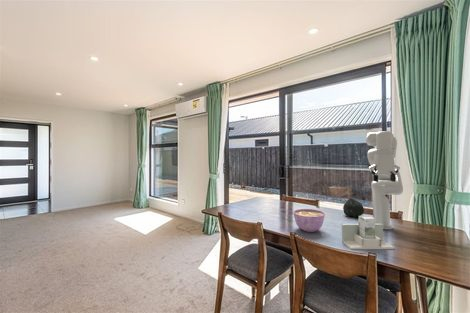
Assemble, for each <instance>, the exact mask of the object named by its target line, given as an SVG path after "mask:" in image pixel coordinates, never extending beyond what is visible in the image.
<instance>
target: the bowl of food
mask: <svg viewBox="0 0 470 313" xmlns="http://www.w3.org/2000/svg"><path fill="white" fill-rule="evenodd" d="M292 213H293V217H294V221H295V224H296V225H297V227H298V228H299V229H301V230H303V231H304V232H307V233H314V232H316V231H318V230H320V229H321V228H322V227H323V224H324V221H325V216H326V214H325V212H324V211H322V210H320V209H319V210H318V209H313V208H312V209H311V208H300V209H299V208H298V209H295V210H293V212H292Z"/></svg>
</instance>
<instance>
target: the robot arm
mask: <svg viewBox="0 0 470 313" xmlns="http://www.w3.org/2000/svg"><path fill="white" fill-rule="evenodd" d="M397 141H398V140H397V138H396V137H395V136H394V134H393V133H392V132H391V131H390V130H385V131H377V132H368V133H367V134H366V137H365V142H366V145H367V146H370V147H373V148H371V149H369V150H368V151H367V153H366V155H367V161H368V164H369V165H370V166H369V167H368V170H369V172H370V174H372V179H373V180H372V181H371V183H370V186H371V192H372V193H371V194H372V217H373V218H374V219H375V224H383V230H392V229H393V228H394V226H393V225H392V224H391V214H390V213H391V209H390V208H391V205H390V204H391V203H390V200H389V198H388V197H387V196H386V195H390V196H391V195H392V196H393V195H394V196H399V195H402V194H403V192H404V186H403V180H402V178H401V173H400V169H401V167H400V166H398V165H397V164H395V159H396V154H397V146H398V142H397Z"/></svg>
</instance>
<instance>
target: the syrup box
mask: <svg viewBox="0 0 470 313" xmlns="http://www.w3.org/2000/svg"><path fill="white" fill-rule="evenodd" d="M358 224H359V236H360V237H362V238H363V239H375V219H374V218H373V216H371V215H361V216H359V217H358Z"/></svg>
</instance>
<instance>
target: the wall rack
mask: <svg viewBox="0 0 470 313" xmlns="http://www.w3.org/2000/svg"><path fill="white" fill-rule="evenodd" d="M341 241H342V242H343V244H345V246H347V247H348V248H349V249H350V250H395V246H392V244H389V243H388V242H386V241H384V229H383V224H375V239H363V238H362V237H360V236H359V223H342V224H341Z"/></svg>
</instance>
